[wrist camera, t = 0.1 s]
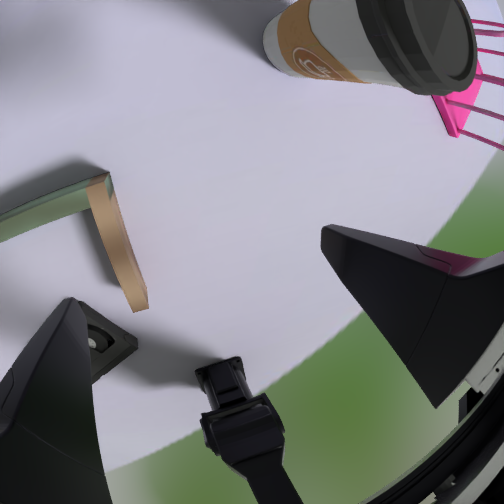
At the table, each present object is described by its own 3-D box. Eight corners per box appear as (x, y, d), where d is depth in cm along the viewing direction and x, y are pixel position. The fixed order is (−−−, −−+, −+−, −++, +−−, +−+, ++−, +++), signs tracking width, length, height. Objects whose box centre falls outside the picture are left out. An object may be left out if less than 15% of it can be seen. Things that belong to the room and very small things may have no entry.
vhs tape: (81, 296, 23) (78, 309, 21) (136, 335, 28) (138, 348, 26) (28, 358, 23) (26, 370, 22) (76, 385, 28) (75, 397, 26)
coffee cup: (230, 57, 17) (367, 4, 5) (276, -9, 15) (411, -69, 3) (309, 105, 22) (462, 134, 10) (344, 41, 19) (487, 39, 7)
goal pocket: (146, 288, 25) (148, 308, 22) (-14, 332, 19) (-21, 350, 16) (109, 172, 18) (104, 181, 16) (-61, 250, 12) (-74, 265, 10)
